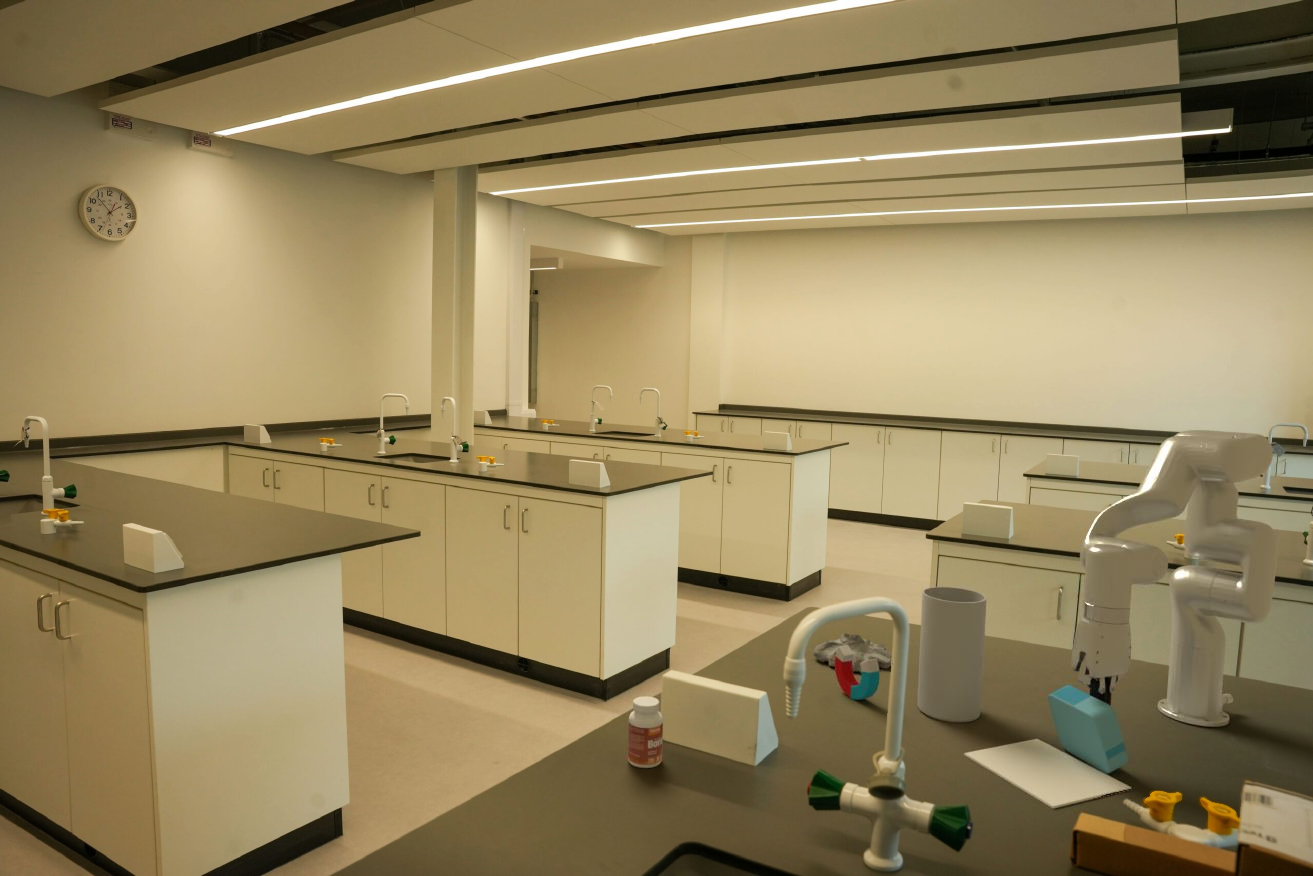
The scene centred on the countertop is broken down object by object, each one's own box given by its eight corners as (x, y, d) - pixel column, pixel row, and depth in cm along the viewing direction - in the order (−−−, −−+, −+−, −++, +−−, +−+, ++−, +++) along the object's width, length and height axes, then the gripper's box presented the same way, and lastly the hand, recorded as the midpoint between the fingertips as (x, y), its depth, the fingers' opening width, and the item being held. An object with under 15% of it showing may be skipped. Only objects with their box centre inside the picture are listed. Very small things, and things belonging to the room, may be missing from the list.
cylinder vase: (916, 718, 168) (922, 598, 166) (917, 696, 180) (922, 584, 178) (982, 728, 164) (988, 605, 162) (978, 704, 176) (984, 590, 174)
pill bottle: (651, 772, 143) (652, 711, 142) (621, 764, 146) (622, 703, 145) (668, 758, 148) (669, 699, 148) (639, 750, 152) (640, 692, 151)
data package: (1130, 766, 146) (1115, 707, 144) (1110, 777, 145) (1094, 718, 143) (1079, 737, 157) (1064, 682, 155) (1060, 747, 156) (1045, 692, 154)
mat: (1036, 740, 159) (1037, 738, 159) (1131, 789, 140) (1131, 787, 140) (964, 755, 152) (964, 753, 152) (1052, 808, 134) (1053, 806, 134)
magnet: (878, 706, 174) (880, 660, 173) (868, 708, 173) (870, 662, 172) (843, 687, 185) (844, 643, 184) (833, 689, 183) (835, 645, 183)
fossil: (857, 631, 214) (887, 616, 201) (875, 673, 210) (907, 660, 197) (801, 651, 207) (829, 636, 194) (819, 694, 203) (848, 682, 190)
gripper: (1116, 604, 155) (1110, 699, 157) (1058, 611, 150) (1052, 709, 151) (1153, 615, 148) (1146, 714, 150) (1093, 623, 143) (1087, 725, 144)
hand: (1099, 711), depth 150 cm, fingers closed
